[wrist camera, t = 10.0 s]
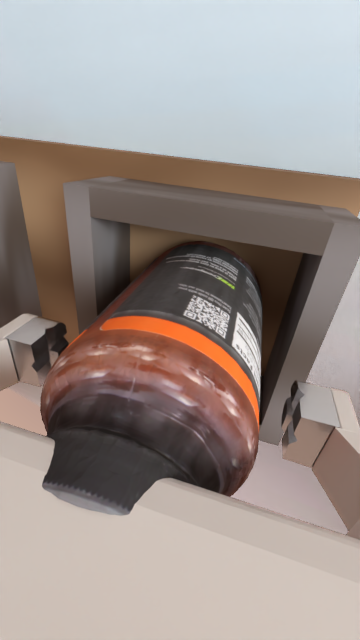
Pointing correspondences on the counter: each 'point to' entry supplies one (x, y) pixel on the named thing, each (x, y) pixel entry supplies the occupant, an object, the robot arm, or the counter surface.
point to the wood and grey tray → (175, 241)
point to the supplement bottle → (160, 385)
